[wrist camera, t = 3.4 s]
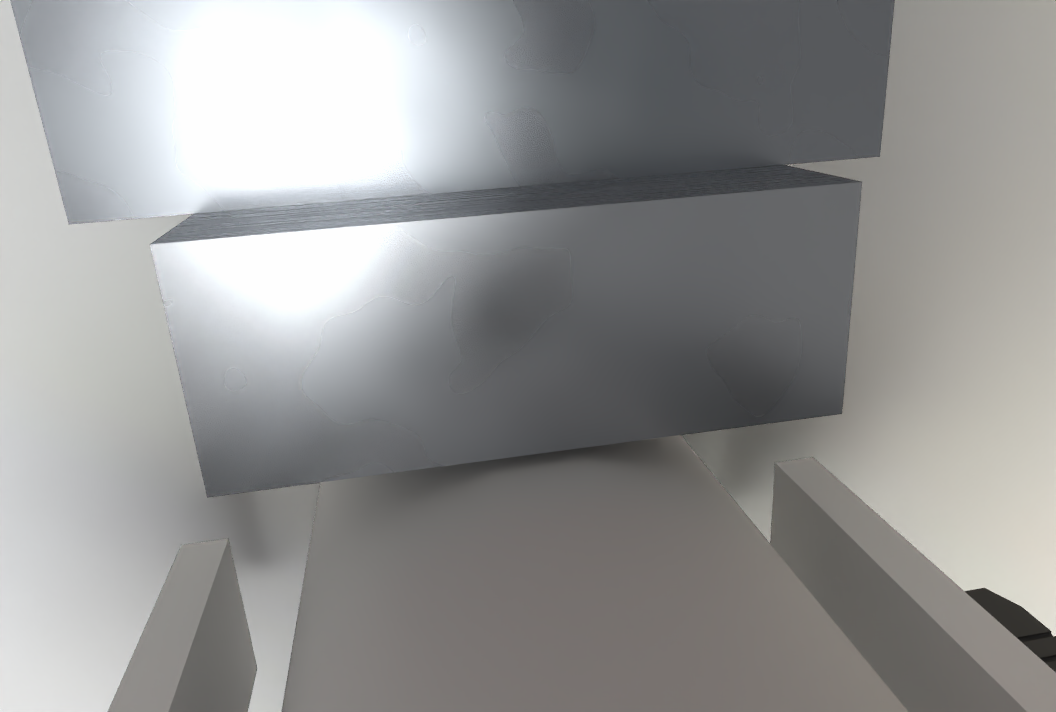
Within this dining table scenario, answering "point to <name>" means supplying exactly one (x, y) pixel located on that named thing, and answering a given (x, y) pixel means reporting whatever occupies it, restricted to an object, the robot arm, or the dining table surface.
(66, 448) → the dining table surface
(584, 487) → the can
